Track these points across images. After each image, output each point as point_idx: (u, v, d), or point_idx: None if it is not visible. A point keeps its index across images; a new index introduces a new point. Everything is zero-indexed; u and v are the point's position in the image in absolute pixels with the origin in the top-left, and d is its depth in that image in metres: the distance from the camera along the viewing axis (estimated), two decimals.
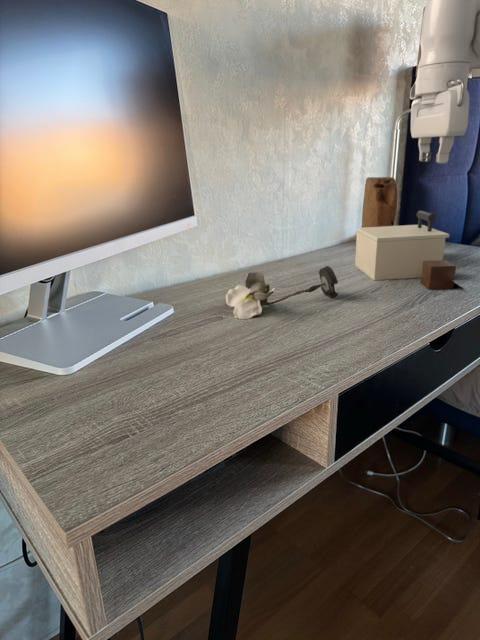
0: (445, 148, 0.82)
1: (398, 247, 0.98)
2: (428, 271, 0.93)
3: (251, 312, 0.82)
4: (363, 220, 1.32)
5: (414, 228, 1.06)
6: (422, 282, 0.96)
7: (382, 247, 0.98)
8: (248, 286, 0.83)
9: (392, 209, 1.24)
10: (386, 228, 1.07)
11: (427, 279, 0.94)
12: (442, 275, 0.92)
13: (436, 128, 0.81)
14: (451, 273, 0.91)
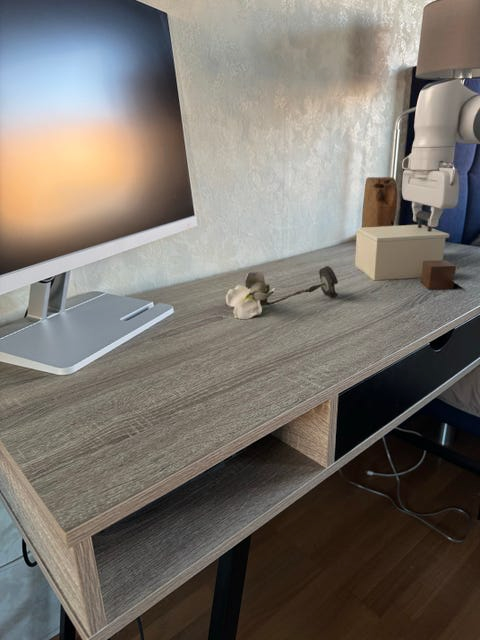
0: (436, 215, 0.98)
1: (398, 247, 0.98)
2: (428, 271, 0.93)
3: (251, 312, 0.82)
4: (363, 220, 1.32)
5: (414, 228, 1.06)
6: (422, 282, 0.96)
7: (382, 247, 0.98)
8: (248, 286, 0.83)
9: (392, 209, 1.24)
10: (386, 228, 1.07)
11: (427, 279, 0.94)
12: (442, 275, 0.92)
13: (430, 199, 0.97)
14: (451, 273, 0.91)
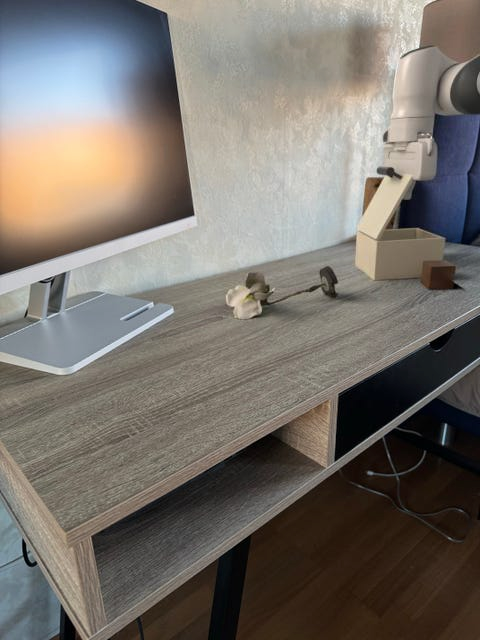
0: None
1: (398, 247, 0.98)
2: (428, 271, 0.93)
3: (251, 312, 0.82)
4: None
5: (389, 183, 1.02)
6: (422, 282, 0.96)
7: (382, 247, 0.98)
8: (248, 286, 0.83)
9: None
10: (373, 206, 1.05)
11: (427, 279, 0.94)
12: (442, 275, 0.92)
13: (409, 172, 0.94)
14: (451, 273, 0.91)
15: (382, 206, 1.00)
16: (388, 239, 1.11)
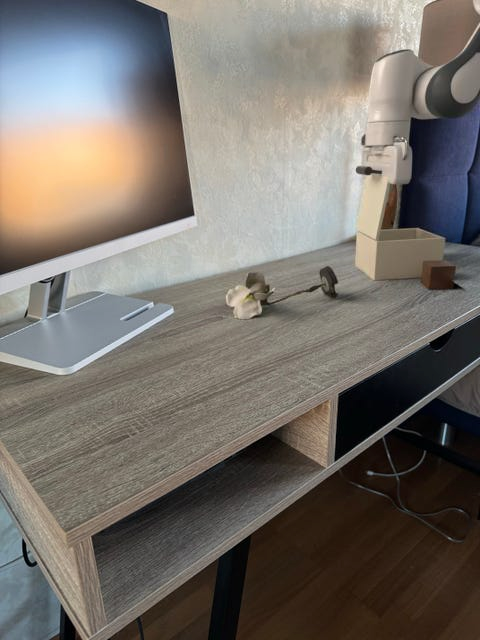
0: None
1: (398, 247, 0.98)
2: (428, 271, 0.93)
3: (251, 312, 0.82)
4: None
5: (372, 178, 1.01)
6: (422, 282, 0.96)
7: (382, 247, 0.98)
8: (248, 286, 0.83)
9: (392, 209, 1.24)
10: (364, 204, 1.05)
11: (427, 279, 0.94)
12: (442, 275, 0.92)
13: (385, 176, 0.94)
14: (451, 273, 0.91)
15: (372, 204, 1.00)
16: (388, 239, 1.11)
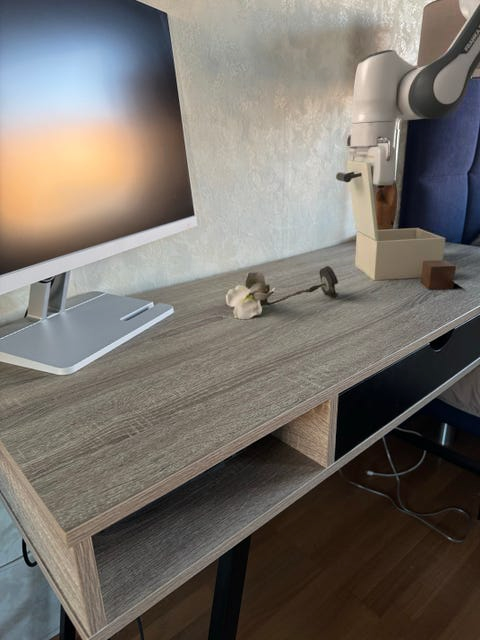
0: None
1: (398, 247, 0.98)
2: (428, 271, 0.93)
3: (251, 312, 0.82)
4: None
5: (355, 180, 1.01)
6: (422, 282, 0.96)
7: (382, 247, 0.98)
8: (248, 286, 0.83)
9: (392, 209, 1.24)
10: (356, 206, 1.05)
11: (427, 279, 0.94)
12: (442, 275, 0.92)
13: None
14: (451, 273, 0.91)
15: (362, 205, 1.00)
16: (388, 239, 1.11)
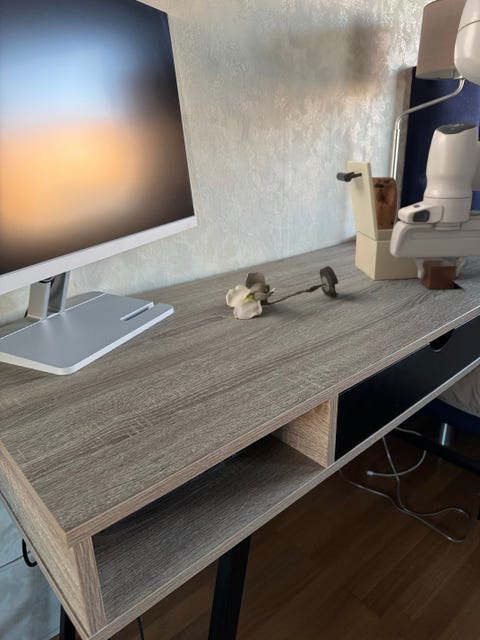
0: None
1: None
2: (428, 271, 0.93)
3: (252, 312, 0.82)
4: None
5: (355, 180, 1.01)
6: (422, 282, 0.96)
7: (382, 247, 0.98)
8: (248, 286, 0.83)
9: (392, 209, 1.24)
10: (356, 206, 1.05)
11: (427, 279, 0.94)
12: (442, 275, 0.92)
13: (469, 250, 0.90)
14: (451, 273, 0.91)
15: (362, 205, 1.00)
16: (388, 239, 1.11)
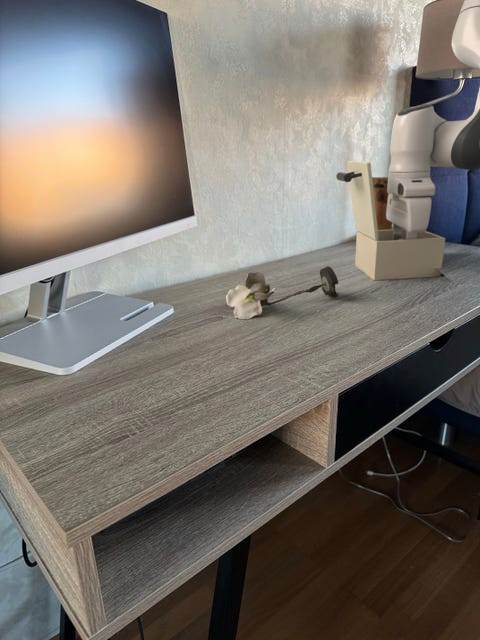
0: None
1: (398, 247, 0.98)
2: None
3: (252, 312, 0.82)
4: None
5: (355, 180, 1.01)
6: None
7: (382, 247, 0.98)
8: (248, 286, 0.83)
9: None
10: (356, 206, 1.05)
11: None
12: None
13: None
14: None
15: (362, 205, 1.00)
16: (388, 239, 1.11)
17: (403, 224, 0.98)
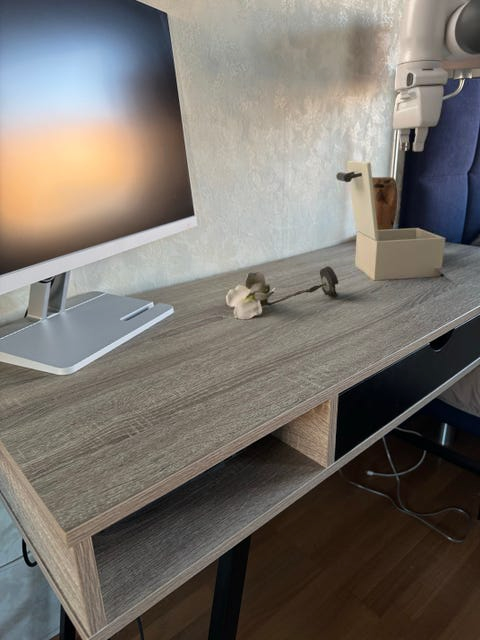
0: None
1: (398, 247, 0.98)
2: None
3: (252, 312, 0.82)
4: None
5: (355, 180, 1.01)
6: None
7: (382, 247, 0.98)
8: (248, 287, 0.83)
9: (392, 209, 1.24)
10: (356, 206, 1.05)
11: None
12: None
13: None
14: None
15: (362, 205, 1.00)
16: (388, 239, 1.11)
17: (412, 121, 0.91)
